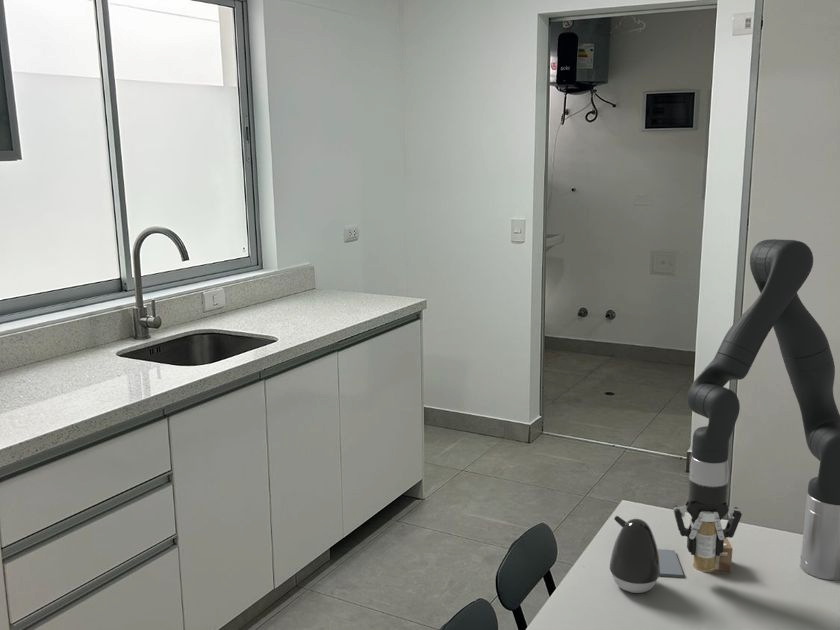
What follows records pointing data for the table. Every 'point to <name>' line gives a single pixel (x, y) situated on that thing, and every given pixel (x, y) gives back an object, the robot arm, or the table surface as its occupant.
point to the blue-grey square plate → (669, 563)
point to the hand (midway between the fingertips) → (704, 553)
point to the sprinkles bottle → (706, 544)
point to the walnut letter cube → (724, 559)
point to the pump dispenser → (635, 557)
